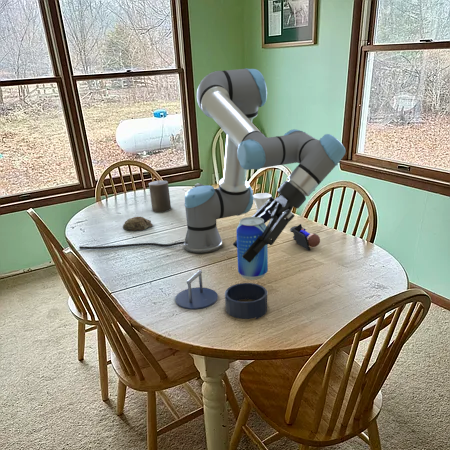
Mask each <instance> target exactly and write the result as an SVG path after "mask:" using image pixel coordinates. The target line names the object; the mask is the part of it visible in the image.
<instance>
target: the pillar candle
mask: <svg viewBox="0 0 450 450" xmlns="http://www.w3.org/2000/svg"><path fill="white" fill-rule="evenodd" d="M169 187H170V186H169V181H167V180H154V181H151V182H148V189H149V196H150V197H149V198H150V203H151V204H150V205H151V209H152V212H155V213H165V212H168V211H170V210H172V204H171V203H172V202H171V195H170V188H169Z"/></svg>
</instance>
